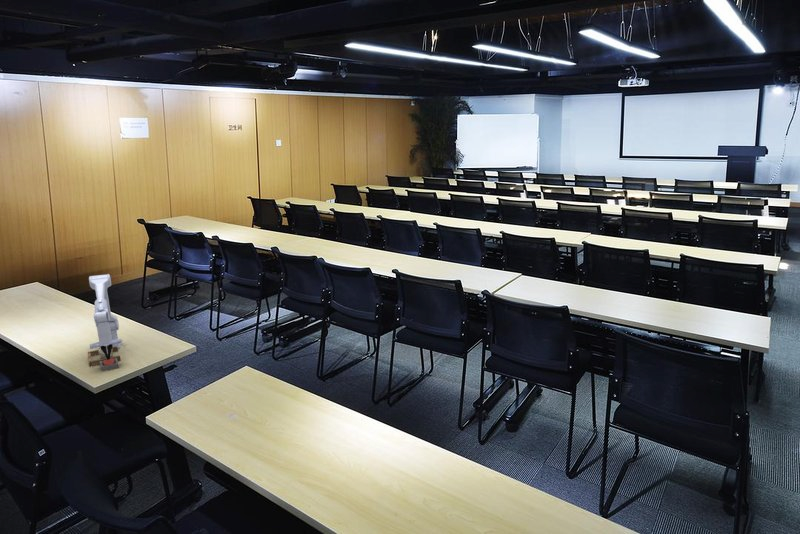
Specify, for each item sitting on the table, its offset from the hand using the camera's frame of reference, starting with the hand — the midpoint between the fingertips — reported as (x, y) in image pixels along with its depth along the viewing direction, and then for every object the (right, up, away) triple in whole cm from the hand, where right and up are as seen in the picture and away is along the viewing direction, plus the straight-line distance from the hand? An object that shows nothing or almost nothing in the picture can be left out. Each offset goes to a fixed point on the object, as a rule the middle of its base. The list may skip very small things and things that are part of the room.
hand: (108, 358), depth 279 cm
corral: (-8, -2, +11) cm, 14 cm away
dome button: (0, -4, +1) cm, 4 cm away
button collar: (0, -4, +1) cm, 4 cm away
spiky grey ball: (-7, -2, +11) cm, 13 cm away
